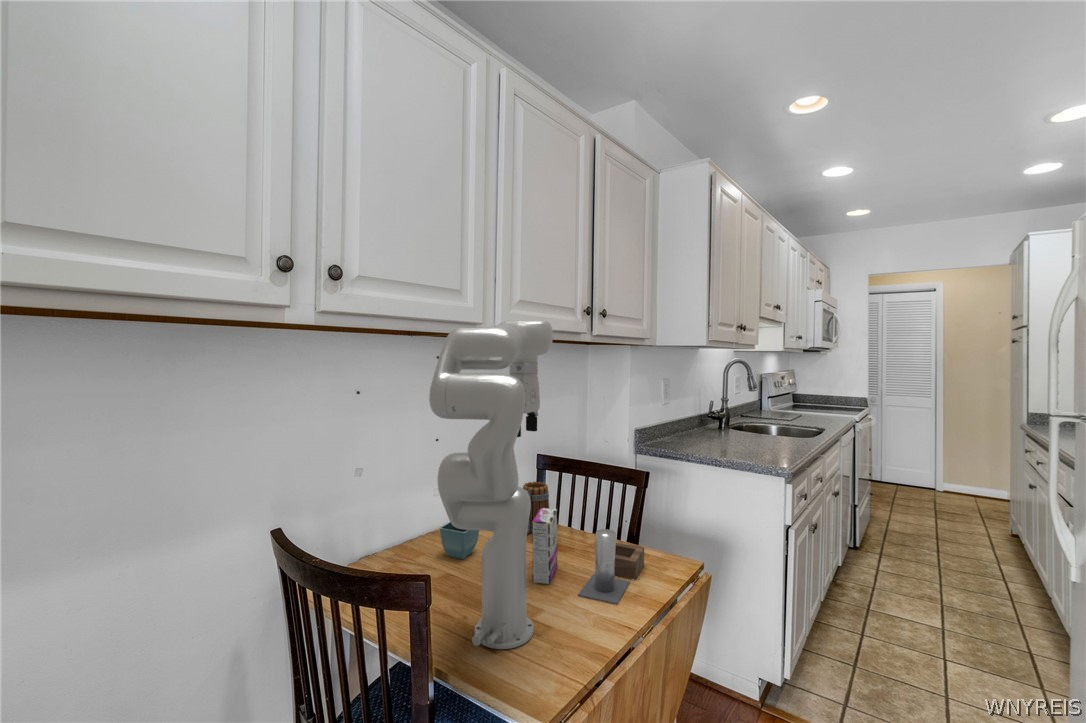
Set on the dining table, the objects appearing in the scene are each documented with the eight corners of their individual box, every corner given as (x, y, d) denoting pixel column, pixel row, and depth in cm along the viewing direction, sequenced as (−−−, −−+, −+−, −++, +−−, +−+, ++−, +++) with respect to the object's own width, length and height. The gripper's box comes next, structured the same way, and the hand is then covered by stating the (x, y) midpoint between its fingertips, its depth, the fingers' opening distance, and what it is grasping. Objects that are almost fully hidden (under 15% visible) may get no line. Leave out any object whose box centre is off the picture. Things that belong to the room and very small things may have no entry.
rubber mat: (617, 604, 115) (617, 603, 115) (577, 596, 119) (577, 594, 119) (629, 582, 126) (629, 581, 126) (593, 575, 130) (593, 573, 130)
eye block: (635, 580, 127) (635, 561, 127) (599, 573, 131) (599, 554, 131) (644, 565, 136) (644, 547, 136) (609, 558, 140) (609, 541, 140)
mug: (528, 521, 171) (528, 479, 171) (555, 526, 167) (556, 482, 166) (506, 536, 157) (506, 490, 157) (535, 542, 153) (535, 494, 152)
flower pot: (464, 563, 137) (464, 532, 137) (439, 558, 140) (438, 527, 140) (480, 551, 145) (480, 522, 145) (455, 547, 149) (455, 518, 148)
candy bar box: (540, 564, 136) (540, 507, 136) (557, 566, 135) (557, 508, 135) (531, 583, 125) (531, 520, 125) (550, 585, 124) (550, 522, 124)
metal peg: (611, 594, 119) (612, 538, 119) (591, 589, 121) (593, 534, 121) (616, 585, 123) (618, 531, 123) (597, 581, 126) (599, 527, 125)
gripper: (521, 371, 119) (521, 440, 119) (549, 368, 135) (549, 429, 135) (494, 370, 122) (494, 438, 122) (525, 368, 138) (525, 428, 138)
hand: (523, 433), depth 129 cm, fingers open, 9 cm apart
